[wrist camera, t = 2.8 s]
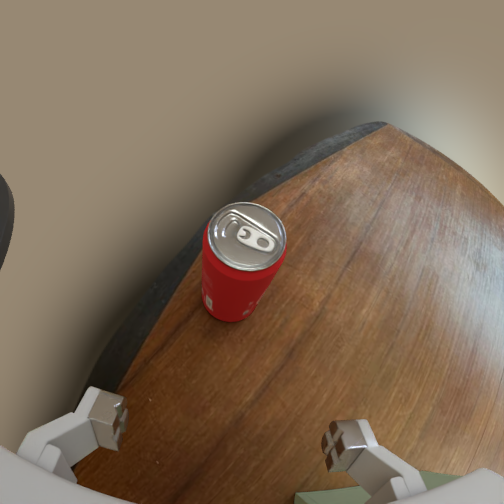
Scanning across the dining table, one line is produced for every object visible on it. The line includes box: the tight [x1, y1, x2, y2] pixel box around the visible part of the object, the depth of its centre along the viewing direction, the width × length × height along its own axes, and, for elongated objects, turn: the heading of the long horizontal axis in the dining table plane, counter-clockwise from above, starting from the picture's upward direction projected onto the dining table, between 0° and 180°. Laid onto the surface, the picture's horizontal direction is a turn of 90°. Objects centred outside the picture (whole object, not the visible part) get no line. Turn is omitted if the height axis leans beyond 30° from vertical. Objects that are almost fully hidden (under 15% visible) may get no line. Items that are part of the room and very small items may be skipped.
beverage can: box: [202, 202, 287, 322], centre depth 22 cm, size 5×5×12 cm
